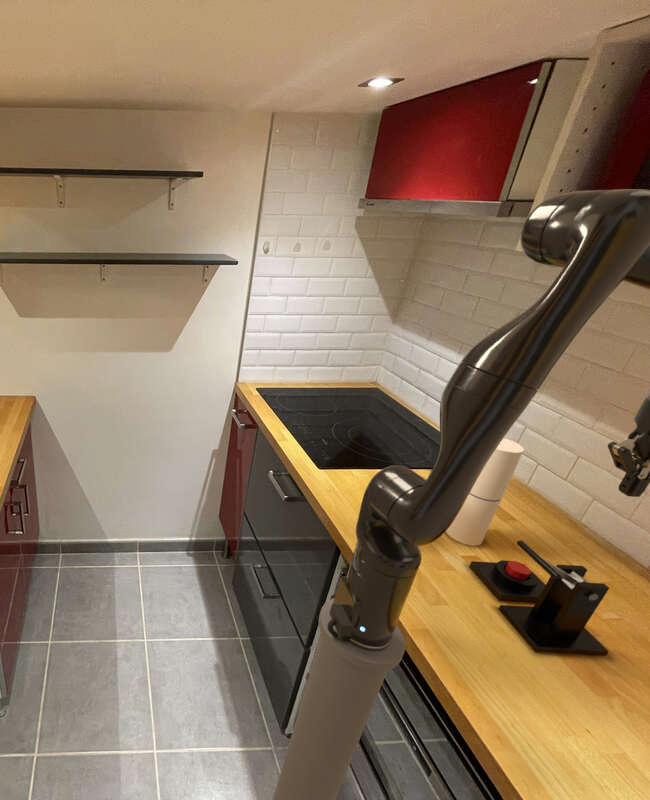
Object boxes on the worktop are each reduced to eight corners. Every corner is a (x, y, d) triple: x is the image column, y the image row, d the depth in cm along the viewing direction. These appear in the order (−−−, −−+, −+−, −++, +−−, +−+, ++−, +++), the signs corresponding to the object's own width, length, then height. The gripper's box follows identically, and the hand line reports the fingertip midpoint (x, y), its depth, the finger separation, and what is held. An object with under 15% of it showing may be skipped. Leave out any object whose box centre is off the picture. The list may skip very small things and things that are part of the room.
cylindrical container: (438, 528, 108) (473, 438, 98) (459, 522, 110) (496, 434, 100) (467, 548, 102) (508, 454, 91) (489, 541, 104) (532, 449, 94)
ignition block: (498, 601, 88) (505, 588, 87) (468, 567, 97) (474, 554, 95) (556, 604, 88) (563, 591, 87) (521, 569, 96) (527, 557, 95)
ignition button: (513, 580, 89) (516, 573, 89) (500, 566, 93) (503, 560, 92) (532, 581, 89) (535, 574, 89) (518, 567, 93) (521, 561, 92)
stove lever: (548, 580, 72) (561, 571, 72) (511, 545, 80) (523, 536, 79) (598, 610, 74) (611, 601, 74) (557, 573, 82) (569, 565, 81)
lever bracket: (534, 651, 79) (568, 595, 73) (498, 609, 87) (526, 555, 81) (605, 656, 78) (645, 599, 72) (562, 612, 86) (594, 558, 80)
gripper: (700, 394, 72) (646, 483, 79) (614, 391, 73) (568, 479, 80) (758, 414, 65) (693, 509, 73) (663, 411, 66) (608, 505, 73)
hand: (628, 493), depth 76 cm, fingers closed
